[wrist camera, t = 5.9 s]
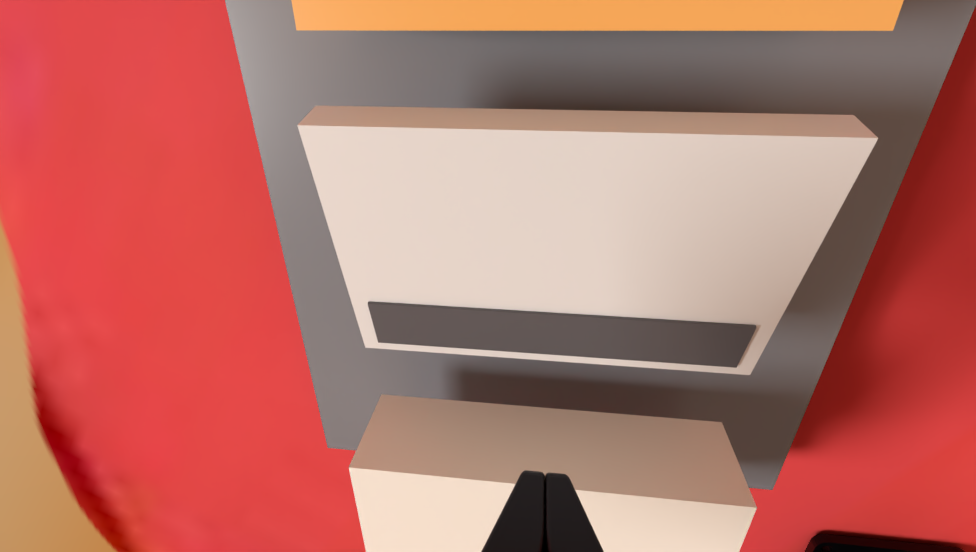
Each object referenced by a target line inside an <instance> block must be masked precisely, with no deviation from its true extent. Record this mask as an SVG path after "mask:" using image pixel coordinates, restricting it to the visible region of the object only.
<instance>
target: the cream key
mask: <svg viewBox="0 0 976 552" xmlns="http://www.w3.org/2000/svg"><path fill="white" fill-rule="evenodd" d="M525 470H529V471H539V472H543V473H544V475H546V474H547V473H549V472H550V473H561V474H566V475H567V476H568V477H569V478H570V480H571V482H572V484H573V486H574V489H575V491H576V493H577V495H578V497H579V499H580V501H581V504H582V506H583V508H584V510H585V512H586V514H587V517H588V519H589V521H590V523H591V525H592V527H593V529H594V532H595V534H596V536H597V538H598V540H599V542H600V545H601V547H602V549H603V551H604V552H739V551H740V548H741V546H742V543H743V541H744V538H745V536H746V533H747V531H748V529H749V526H750V524H751V521H752V519H753V516H754V514H755V511H756V509H757V507H756V504H755V502H754V499H753V497H752V494H751V492H750V490H749V487H748V485H747V482H746V480H745V477H744V475H743V473H742V470H741V468H740V465H739V463H738V460H737V458H736V455H735V453H734V451H733V448H732V446H731V443H730V441H729V438H728V436H727V434H726V431H725V429H724V426H723V424H722V422H714V421H701V420H689V419H677V418H665V417H652V416H640V415H628V414H616V413H603V412H591V411H579V410H567V409H555V408H542V407H530V406H518V405H506V404H493V403H481V402H469V401H457V400H444V399H432V398H420V397H408V396H395V395H383V394H381V397H380V399H379V401H378V403H377V406H376V408H375V410H374V412H373V414H372V417H371V419H370V421H369V423H368V426H367V428H366V430H365V432H364V435H363V437H362V439H361V441H360V443H359V446H358V448H357V450H356V452H355V455H354V457H353V459H352V461H351V464H350V466H349V471H350V476H351V481H352V486H353V491H354V495H355V500H356V505H357V510H358V515H359V520H360V525H361V529H362V534H363V539H364V544H365V549H366V552H481V551H482V549H483V547H484V545H485V543H486V541H487V539H488V537H489V535H490V533H491V531H492V529H493V527H494V526H495V524H496V522H497V520H498V518H499V516H500V514H501V512H502V510H503V508H504V506H505V504H506V502H507V500H508V498H509V496H510V494H511V492H512V490H513V488H514V486H515V484H516V482H517V480H518V478H519V476H520V474H521V473H522V472H523V471H525Z"/></svg>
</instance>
